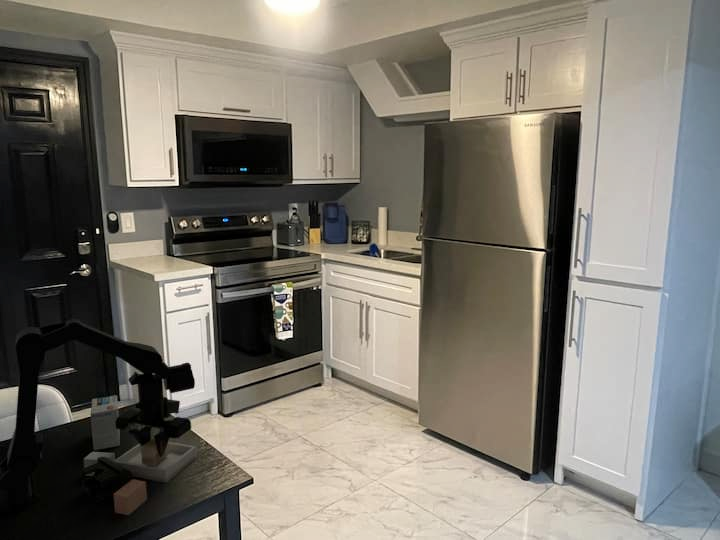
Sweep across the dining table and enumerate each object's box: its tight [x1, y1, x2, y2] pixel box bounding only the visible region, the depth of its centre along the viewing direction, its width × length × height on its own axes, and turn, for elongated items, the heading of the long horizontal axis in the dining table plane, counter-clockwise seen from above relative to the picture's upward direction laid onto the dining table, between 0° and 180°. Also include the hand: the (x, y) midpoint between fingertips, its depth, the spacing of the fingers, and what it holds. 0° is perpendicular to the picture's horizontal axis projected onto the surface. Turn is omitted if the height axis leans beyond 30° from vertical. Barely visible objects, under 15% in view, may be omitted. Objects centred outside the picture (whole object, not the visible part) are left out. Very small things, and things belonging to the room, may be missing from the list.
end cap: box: [81, 457, 134, 506], centre depth 122 cm, size 10×7×7 cm
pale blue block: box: [83, 451, 116, 477], centre depth 130 cm, size 6×4×4 cm, turn 83°
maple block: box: [141, 437, 170, 466], centre depth 133 cm, size 6×4×4 cm, turn 163°
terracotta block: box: [113, 478, 148, 516], centre depth 117 cm, size 6×4×4 cm, turn 163°
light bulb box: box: [89, 395, 121, 451], centre depth 146 cm, size 11×7×11 cm, turn 25°
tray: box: [114, 441, 198, 484], centre depth 134 cm, size 12×15×3 cm
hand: (155, 454), depth 134 cm, fingers closed on maple block, 3 cm apart
